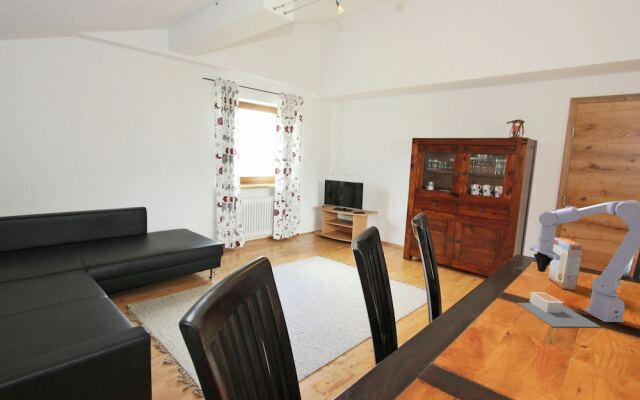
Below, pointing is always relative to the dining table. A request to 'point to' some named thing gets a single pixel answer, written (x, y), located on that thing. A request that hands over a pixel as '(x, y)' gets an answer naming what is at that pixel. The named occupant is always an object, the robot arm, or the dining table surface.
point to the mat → (559, 317)
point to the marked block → (546, 302)
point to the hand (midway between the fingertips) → (541, 271)
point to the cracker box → (566, 263)
